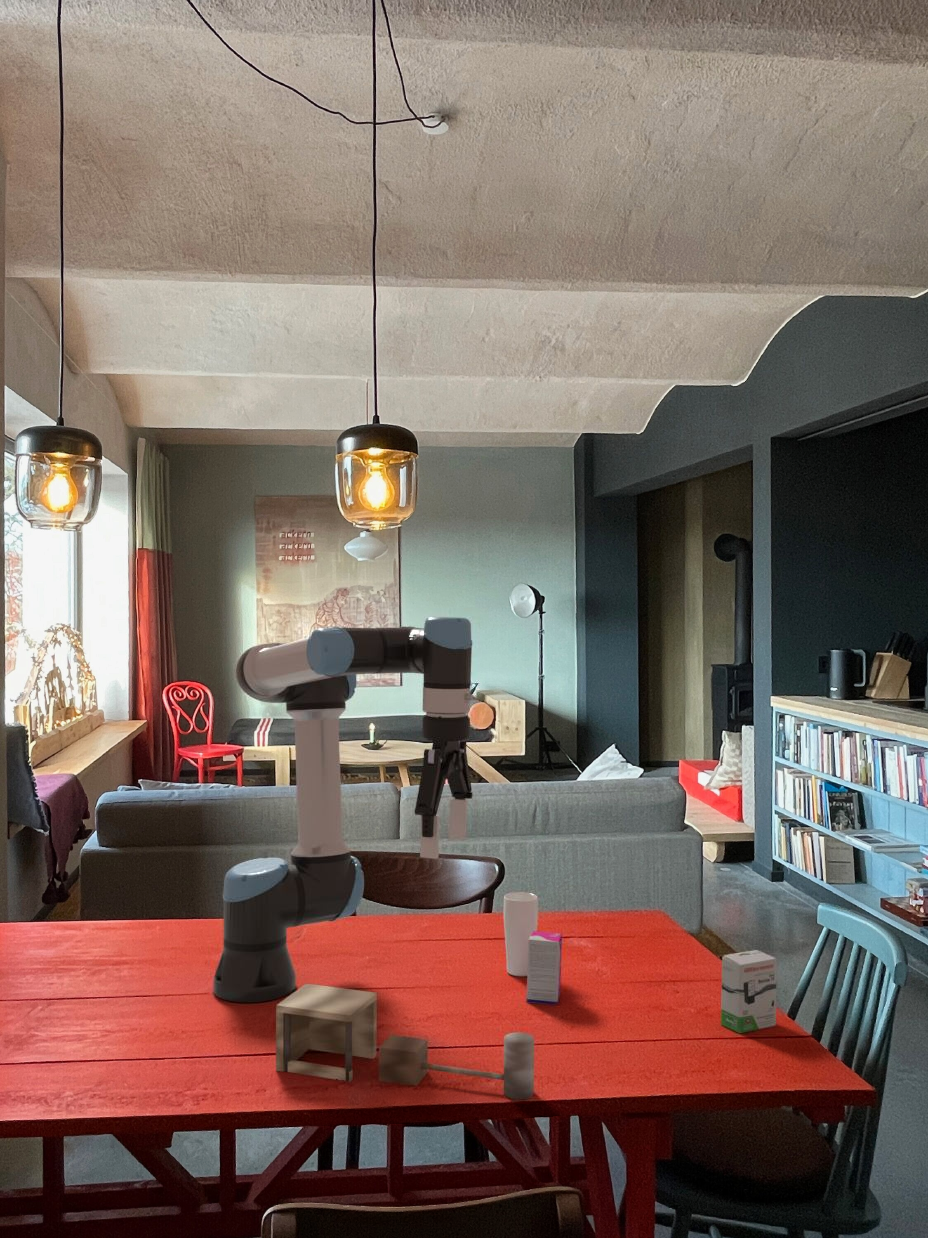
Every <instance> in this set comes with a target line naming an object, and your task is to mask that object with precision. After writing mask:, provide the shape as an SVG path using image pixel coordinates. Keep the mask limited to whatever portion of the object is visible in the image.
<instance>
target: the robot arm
mask: <svg viewBox="0 0 928 1238" xmlns="http://www.w3.org/2000/svg"><path fill="white" fill-rule="evenodd" d="M472 648H473V640H472V623H471V621H470V620H469V619H468V618H466V617H452V616H450V617H449V616H430V617H427V618H426V619H425V620H424V627H423V628H421V627H415V626H398V627H339V626H329V627H319V628H316V629H314V630H313V631H312V632H311V634H310V636H308V637H304V638H302V639H298V640H294V641H290V642H270V643H269V642H268V643H262V644H257V645H254V646H252V647H249V648H248V649H246V650H245V651H243V653H242V654H241V656H240V657H239V659H238V660H237V663H236V667H235V668H236V669H235V676H236V681H237V683H238V685H239V687H240V688H241V690H242V691H243V692H244V694H246V695H248V696H249V697H251V698H252V699H254V700H257V701H259V702H264V703H269V704H270V703H271V704H281V703H282V704H284V703H285V706H286V707H285V709H286V710H285V711H286V713H287V715H289V717H291V718H292V719H293V722H294V742H295V745H294V746H295V747H294V749H295V750H294V751H295V775H296V776H295V777H296V779H295V781H296V808H297V809H296V811H297V835H298V836H297V838H298V843H297V845H296V846H295V847H294V848H293V849H292V850H291V852H290V863H289V864H288V863H287V861H286V859H283V858H280V857H274V856H273V857H271V856H269V857H267V858H265V857H259V858H254V859H250V860H246V861H242V862H239V863H238V864H236V865H234V866H232V867H231V868H230V869H228V871H227V872H226V873H225V876H224V881H223V891H222V900H223V902H222V903H223V926H222V927H223V932H222V933H223V934H222V936H223V942H222V943H223V944H222V945H223V946H222V952H221V954H220V958H219V961H218V965H217V966H216V970H215V973H214V977H213V982H212V983H213V989H212V990H213V994H214V995H215V996H216V997H218V998H220V999H222V1000H224V1001H230V1002H234V1003H261V1002H268V1001H272V1000H276V999H280V998H283V997H285V996H286V997H287V995H289V994H292V993H293V991H294V990H295V989H296V987H297V985H296V984H297V981H296V980H297V979H296V978H297V976H296V970H295V968H294V965H293V961H292V959H291V955H290V951H289V948H288V944H287V943H288V941H287V937H288V936H287V935H288V933H287V930H288V929H289V928H295V927H300V926H306V925H311V924H316V923H324V922H329V923H330V922H334V921H335V922H336V921H337V920H339V919H344V918H348V917H350V916H352V915H353V914H354V913H355V912H356V911H357V909H358V907H360V904H361V902H362V899H363V895H364V889H365V888H364V887H365V876H364V871H363V870H362V864H361V862H360V860H359V859H358V858H357V857H355V856H353V855H352V850H351V847H350V846H348V845H347V844H346V843H345V842H344V840H343V839H344V837H343V814H342V813H343V808H342V786H341V785H342V783H341V762H340V760H341V759H340V756H341V755H340V754H341V753H340V732H339V731H340V730H339V727H340V725H339V718H340V717H341V716H342V714H343V713H344V712H345V711H347V710H346V709H347V707H346V705H347V704H346V702H347V701H349V700H350V699H352V698H353V696H354V695H355V693H356V691H355V689H356V688H357V682H358V681H357V675H366V674H367V675H368V674H371V675H373V674H374V675H375V674H422V675H423V685H422V712H424V713H426V714H425V715H423V717H422V735H421V736H422V738H423V739H424V740H427V741H431V742H432V746H431V749H427V748H426V749H424V750H423V764H422V769H421V775H420V781H419V786H418V792H417V797H416V803H415V808H414V815H417V816H420V837H419V839H420V840H419V841H420V843H419V845H420V848H419V849H420V851H419V853H420V854H419V856H420V857H419V858H423V859H424V858H425V859H435V860H436V859H439V851H440V850H439V849H440V848H439V845H440V844H439V843H440V842H439V841H440V839H439V838H440V815H439V814H437V813H438V811H439V806H440V802H441V798H442V794H443V791H444V787H445V783H446V780H447V783H448V786H449V790H450V793H451V798H450V799H449V819H448V820H449V830H448V839H453V840H454V839H455V840H461V841H462V840H463V841H465V840H467V815H468V813H467V811H468V809H467V807H468V806H467V805H468V799H469V800H470V799H471V800H472V799H473V792H472V790H473V788H472V783H471V782H472V781H471V775H470V769H469V763H468V761H469V760H468V755H467V741H468V739H469V738H470V735H471V734H470V733H471V732H470V731H471V718H470V717H469V715H467V714H468V713H469V712H471V701H473V699H474V695H473V694H471V682H472V681H471V680H472V679H471V678H472V677H471V676H472V655H473V654H472ZM466 740H467V741H466Z"/></svg>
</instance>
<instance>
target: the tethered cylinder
mask: <svg viewBox="0 0 928 1238" xmlns="http://www.w3.org/2000/svg"><path fill="white" fill-rule="evenodd" d="M428 1040H429V1039H425V1038H420V1037H418V1038H417V1037H413V1036H412V1037H410V1036H405V1035H396V1034H390V1035H389V1036H388V1037H387V1038H386V1039H385V1041H384V1042H383V1043H381V1045H379V1047H378V1081H379V1082H385V1083H391V1084H393V1083H394V1084H399V1085H407V1086H412V1085H413V1086H414V1085H415V1086H414V1087H418V1085H419V1084H420V1082H421V1081H422V1080H423V1078H425V1076H426V1075H427V1074H428V1072H429V1070H430V1071H435V1072H444V1073H450V1074H457V1075H458V1074H459V1075H465V1076H473V1077H479V1078H485V1079H493V1080H500V1081H503V1095H504V1094H505V1095H504V1096H505V1097H506V1096H507V1098H508V1097H509V1098H508V1099H510V1098H512V1099H511V1100H514V1099H517V1101H523V1099H525V1100H529V1099H531V1098H532V1097H533V1096H534V1093H535V1092H534V1091H535V1083H534V1082H535V1081H534V1080H535V1037H534V1036H533V1035H532V1034H529V1033H526V1032H521V1031H520V1032H519V1031H518V1032H510V1033H506V1035H504V1037H503V1073H498V1072H489V1071H482V1070H476V1069H470V1068H469V1069H468V1068H463V1067H462V1068H461V1067H454V1066H453V1067H452V1066H447V1065H440V1064H434V1063H433V1064H432V1063H428V1061H429V1060H428V1059H429V1058H428V1057H429V1056H428V1052H429V1049H428V1048H429V1046H428V1044H429V1043H428V1042H429V1041H428Z"/></svg>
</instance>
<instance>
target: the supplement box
mask: <svg viewBox="0 0 928 1238" xmlns="http://www.w3.org/2000/svg"><path fill="white" fill-rule="evenodd" d="M562 943H563V934H562V933H558V932H547V931H546V932H545V931H533V932H532V933H531V936H530V938H529V943H528V975H527V976H526V977H527V978H526V979H527V980H526V981H527V982H526V1003H532V1004H544V1005H555V1006H556V1005H558V1003H559V1002H558V1001H559V998H560V996H561V985H562V984H561V983H562V981H561V980H562V979H561V978H562V952H563V951H562V950H563V949H562V948H563V947H562V946H563V944H562Z"/></svg>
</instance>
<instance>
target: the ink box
mask: <svg viewBox="0 0 928 1238" xmlns="http://www.w3.org/2000/svg"><path fill="white" fill-rule="evenodd" d="M777 973H778V959H777V957H774V956H772V955H769V954H767V953H765V952H763V951H761V950H758V949H754V950H747V951H742V952H736V953H729V954H724V955H723V956H722V958H721V1000H720V1001H721V1002H720V1003H721V1004H720V1010H721V1011H720V1025H721V1026H723V1027H726V1029H727V1028H728V1029H729V1030H732V1031H733V1032H736V1033H738V1034H744V1033H747V1032H748V1033H749V1032H752V1031H758V1030H761V1029H765V1028H771V1027H774V1026H777V984H778V983H777V981H778V980H777V979H778V977H777V975H778V974H777Z"/></svg>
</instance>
